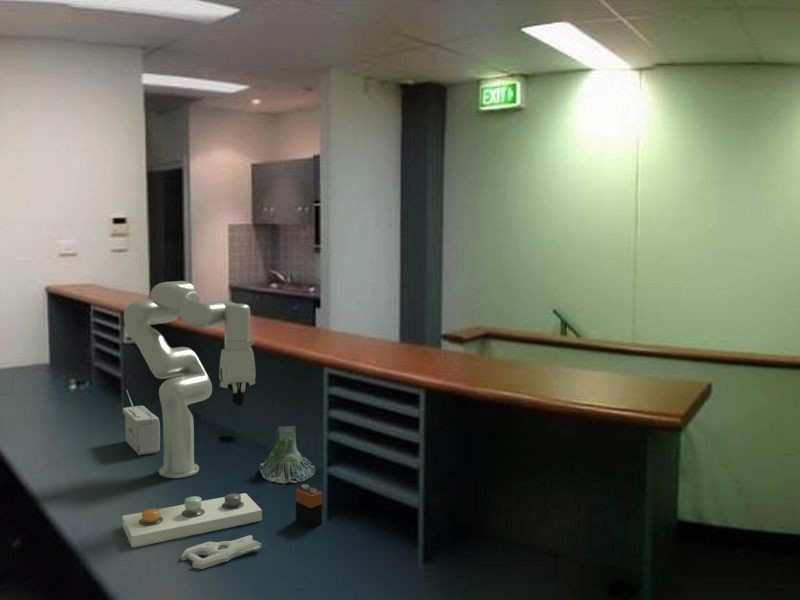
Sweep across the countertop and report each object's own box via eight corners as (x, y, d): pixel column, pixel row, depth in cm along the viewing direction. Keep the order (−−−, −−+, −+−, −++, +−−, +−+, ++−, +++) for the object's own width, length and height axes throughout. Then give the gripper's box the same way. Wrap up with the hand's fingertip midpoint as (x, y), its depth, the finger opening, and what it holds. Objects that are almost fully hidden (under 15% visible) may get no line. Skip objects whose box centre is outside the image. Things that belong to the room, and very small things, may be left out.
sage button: (182, 505, 188) (182, 498, 188) (199, 502, 190) (199, 495, 190) (186, 511, 184) (186, 503, 184) (203, 507, 186) (203, 500, 186)
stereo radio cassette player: (161, 453, 245) (160, 398, 243) (137, 457, 240) (135, 401, 238) (145, 438, 262) (144, 386, 260) (122, 441, 257) (121, 389, 255)
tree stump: (259, 487, 215) (256, 430, 218) (259, 480, 235) (256, 427, 237) (317, 481, 219) (314, 424, 221) (313, 474, 239) (310, 422, 241)
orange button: (140, 517, 182) (140, 510, 182) (157, 514, 185) (157, 507, 184) (143, 523, 179) (143, 516, 178) (161, 520, 181) (161, 513, 181)
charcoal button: (222, 502, 194) (222, 495, 193) (238, 499, 196) (238, 492, 196) (227, 507, 190) (227, 500, 190) (242, 504, 192) (242, 497, 192)
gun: (246, 525, 179) (263, 540, 171) (246, 538, 180) (263, 553, 172) (177, 547, 168) (191, 564, 160) (177, 561, 169) (192, 578, 161)
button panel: (122, 526, 185) (122, 515, 185) (245, 502, 202) (245, 492, 202) (132, 547, 173) (131, 535, 173) (261, 520, 190) (261, 509, 190)
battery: (307, 516, 194) (307, 481, 193) (322, 523, 189) (323, 488, 188) (294, 520, 191) (295, 485, 190) (310, 528, 186) (310, 492, 185)
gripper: (257, 341, 214) (257, 399, 216) (209, 344, 206) (209, 404, 208) (265, 345, 207) (265, 404, 209) (216, 348, 200) (216, 410, 202)
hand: (237, 404), depth 209 cm, fingers closed
